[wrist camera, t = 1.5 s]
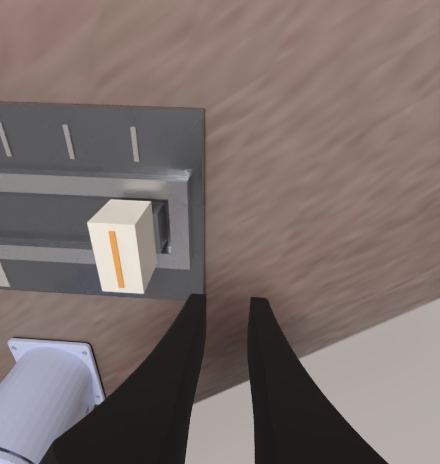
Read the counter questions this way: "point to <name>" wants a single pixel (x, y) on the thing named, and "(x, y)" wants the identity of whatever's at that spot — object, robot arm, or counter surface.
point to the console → (98, 192)
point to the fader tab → (127, 243)
